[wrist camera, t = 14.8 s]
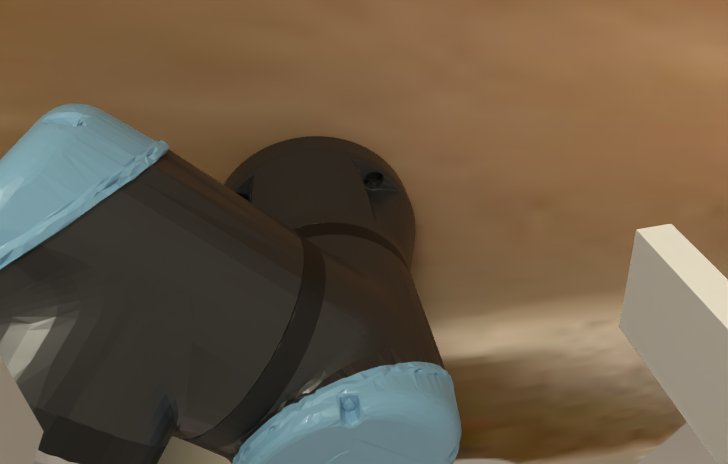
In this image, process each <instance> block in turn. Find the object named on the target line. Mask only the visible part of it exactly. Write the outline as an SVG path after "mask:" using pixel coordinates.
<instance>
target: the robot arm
mask: <svg viewBox="0 0 728 464" xmlns="http://www.w3.org/2000/svg"><path fill="white" fill-rule="evenodd" d="M169 147H170V146H169V145H168V144H167V143H166V142H165V141H163V140H155V141H154V140H153V139H151V138H149V137H147V136H146V135H144V134H142V133H141V132H139V131H137V130H135V129H134V128H132V127H130V126H128V125H127V124H125V123H123V122H122V121H120V120H118V119H116V118H115V117H113V116H111V115H110V114H108V113H106V112H104V111H103V110H101V109H98V108H96V107H94V106H90V105H86V104H75V103H74V104H66V105H62V106H59V107H56V108H54V109H52V110H50V111H49V112H47V113H46V114H44V115H43V116H42V117H41V118H40V119H39V120H38V121H37V122H36V123H35V124H34V125H33V126H32V127H31V128H30V129H29V130H28V131H27V132H26V133H25V134H24V135H23V136H22V137H21V138H20V140H19V141H18V142H17V143H16V144H15V145H14V146H13V147H12V148H11V149H10V150H9V151H8V152H7V153H6V154H5V156H4V157H3V158H2V159H1V160H0V464H157V463H158V461H159V459H160V457H161V455H162V453H163V451H164V449H165V448H166V446H167V444H168V442H169V440H170V439H171V437H172V436H174V437H177V438H179V439H183V440H185V441H188V442H190V443H192V444H195V445H197V446H200V447H202V448H204V449H207V450H209V451H212V452H214V453H217V454H219V455H221V456H223V457H225V458H227V459H228V460H229V461H230V462H231V463H232V464H453V463H454V461H455V458H456V456H457V453H458V451H459V442H460V437H461V422H460V417H459V412H458V408H457V403H456V399H455V394H454V384H453V381H452V379H451V375H449V374H448V371H446V370H445V367H444V364H443V362H442V359H441V356H440V353H439V351H438V348H437V345H436V342H435V340H434V337H433V334H432V332H431V329H430V326H429V323H428V321H427V318H426V315H425V312H424V310H423V307H422V304H421V301H420V299H419V296H418V293H417V290H416V288H415V285H414V282H413V279H412V277H411V274H410V267H411V260H412V254H413V247H414V241H415V220H414V214H413V209H412V206H411V203H410V201H409V198H408V196H407V193H406V191H405V188H404V186H403V184H402V182H401V180H400V179H399V177H398V175H397V174H396V173H395V171H394V170H393V169H392V168H391V167H390V166H389V165H388V164H387V163H386V162H385V161H384V160H383V159H382V158H381V157H379V156H378V155H377V154H375V153H374V152H372V151H370V150H369V149H367V148H365V147H363V146H361V145H358V144H356V143H353V142H350V141H347V140H343V139H338V138H332V137H318V136H314V137H301V138H295V139H290V140H286V141H282V142H279V143H276V144H274V145H271V146H269V147H267V148H265V149H263V150H261V151H259V152H257V153H256V154H254V155H253V156H251V157H250V158H248V159H247V160H246V161H244V162H243V163H242V164H241V165H240V166H239V167H238V168H237V169H236V170H235V171H234V172H233V173H232V174H231V175H230V177H229V178H228V179H227V181H226V182H225V184H224V185H223V184H221V183H220V182H218V181H217V180H215V179H214V178H212V177H210V176H209V175H207V174H206V173H204V172H203V171H201V170H200V169H198V168H197V167H195V166H193V165H192V164H190V163H189V162H187V161H186V160H184V159H183V158H181V157H180V156H178V155H176V154H175V153H173V152H172V151H170V150H169ZM619 328H620V329H621V330H622V332H623V333H624V335H625V336H626V337H627V339H628V340H629V342H630V343H631V344H632V346H633V347H634V349H635V350H636V351H637V353H638V354H639V356H640V357H641V358H642V360H643V361H644V363H645V364H646V365H647V367H648V368H649V370H650V371H651V372H652V374H653V375H654V377H655V378H656V379H657V381H658V382H659V383H660V385H661V386H662V388H663V389H664V390H665V392H666V393H667V395H668V396H669V397H670V399H671V400H672V402H673V403H674V404H675V406H676V407H677V409H678V410H679V411H680V413H681V414H682V416H683V417H684V418H685V420H686V421H687V423H688V424H689V425H690V427H691V428H692V430H693V431H694V432H695V434H696V435H697V437H698V438H699V439H700V441H701V442H702V444H703V445H704V446H705V448H706V449H707V450H708V452H709V453H710V455H711V456H712V458H713V459H714V460H715V462H716V463H717V464H728V279H726V278H725V277H724V276H723V275H722V274H721V273H720V272H719V271H718V270H717V269H716V268H715V267H714V266H713V265H712V264H711V263H710V262H709V261H708V260H707V259H706V258H705V257H704V256H703V255H702V254H701V253H700V252H699V251H698V250H697V249H696V248H695V247H694V246H693V245H692V244H691V243H690V242H689V241H688V240H687V239H686V238H685V237H684V236H683V235H682V234H681V233H680V232H679V231H678V230H677V229H676V228H675V227H674V226H673V225H672V224H667V225H661V226H655V227H649V228H643V229H637V230H636V234H635V240H634V246H633V251H632V257H631V262H630V268H629V274H628V279H627V285H626V291H625V296H624V302H623V307H622V313H621V319H620V324H619Z"/></svg>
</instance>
